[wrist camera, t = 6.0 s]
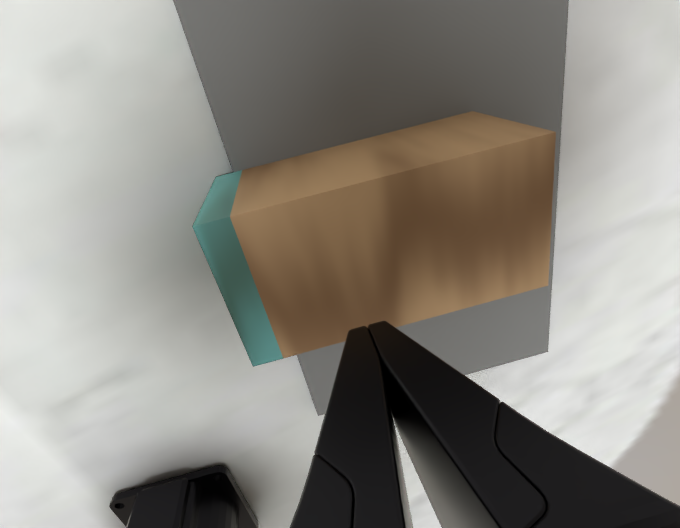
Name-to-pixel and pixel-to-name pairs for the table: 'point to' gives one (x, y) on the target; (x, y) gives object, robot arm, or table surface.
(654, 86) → the table surface
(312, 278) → the oak block
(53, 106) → the table surface
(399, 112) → the charcoal mat
